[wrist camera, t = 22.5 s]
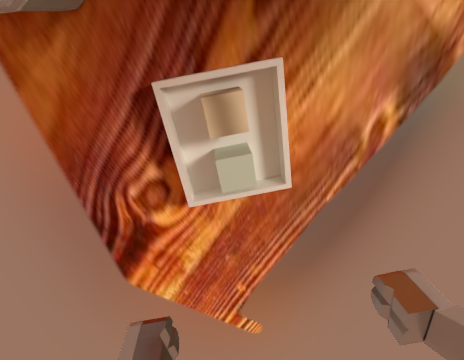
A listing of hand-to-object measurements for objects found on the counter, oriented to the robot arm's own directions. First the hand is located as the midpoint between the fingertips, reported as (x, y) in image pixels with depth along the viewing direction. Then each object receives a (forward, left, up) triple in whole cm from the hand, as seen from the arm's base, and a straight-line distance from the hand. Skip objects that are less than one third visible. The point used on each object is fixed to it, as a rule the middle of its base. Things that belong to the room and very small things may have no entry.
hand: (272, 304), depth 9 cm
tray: (0, +1, -29) cm, 29 cm away
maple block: (0, -3, -28) cm, 28 cm away
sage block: (0, +5, -28) cm, 29 cm away
